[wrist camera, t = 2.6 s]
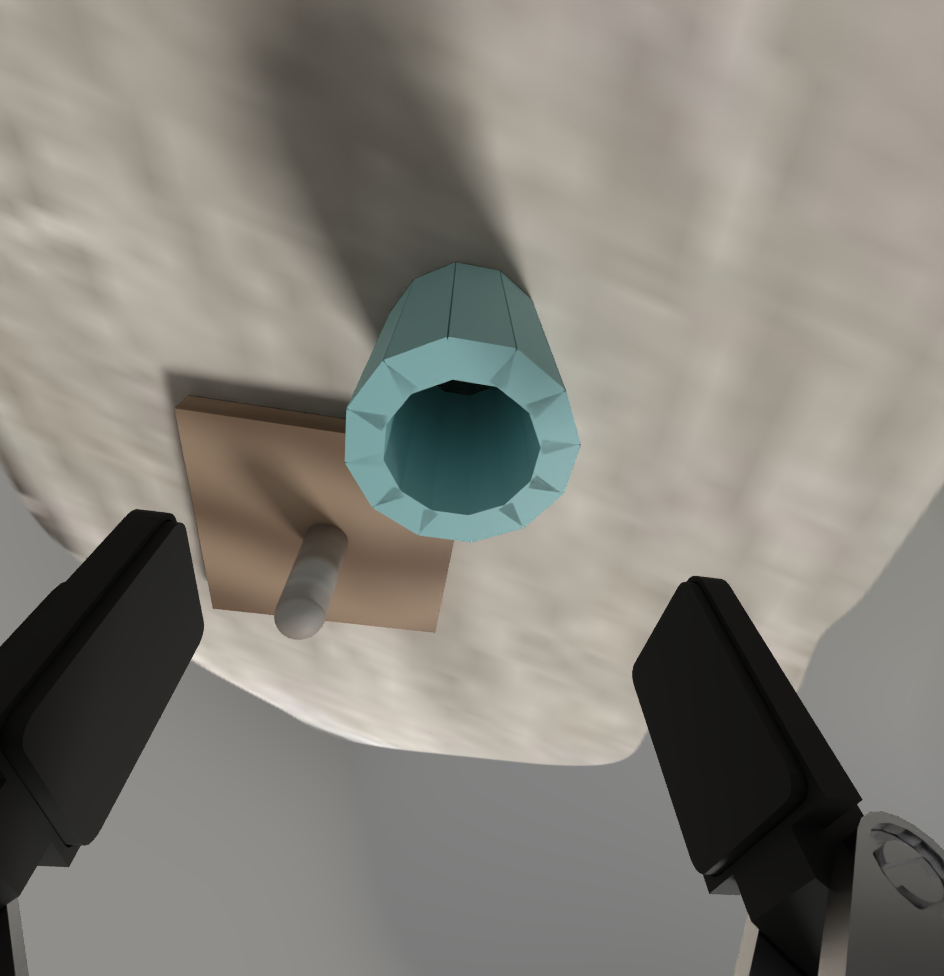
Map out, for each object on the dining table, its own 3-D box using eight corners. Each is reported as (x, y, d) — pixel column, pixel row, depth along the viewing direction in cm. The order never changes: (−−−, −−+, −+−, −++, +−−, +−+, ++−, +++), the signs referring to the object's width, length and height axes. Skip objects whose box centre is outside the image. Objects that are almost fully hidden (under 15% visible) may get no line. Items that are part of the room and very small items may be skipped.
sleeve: (394, 250, 17) (348, 319, 11) (558, 281, 18) (609, 364, 12) (382, 403, 21) (342, 525, 14) (521, 425, 21) (543, 551, 15)
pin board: (188, 395, 21) (86, 488, 15) (471, 438, 22) (472, 538, 16) (221, 591, 27) (160, 704, 22) (436, 615, 29) (428, 728, 23)
